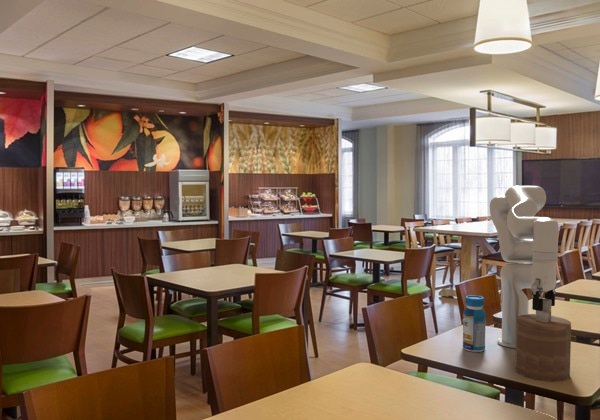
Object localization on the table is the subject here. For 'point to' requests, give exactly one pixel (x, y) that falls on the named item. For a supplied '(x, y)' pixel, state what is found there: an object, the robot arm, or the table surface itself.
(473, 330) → the beverage bottle
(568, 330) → the walnut cover
